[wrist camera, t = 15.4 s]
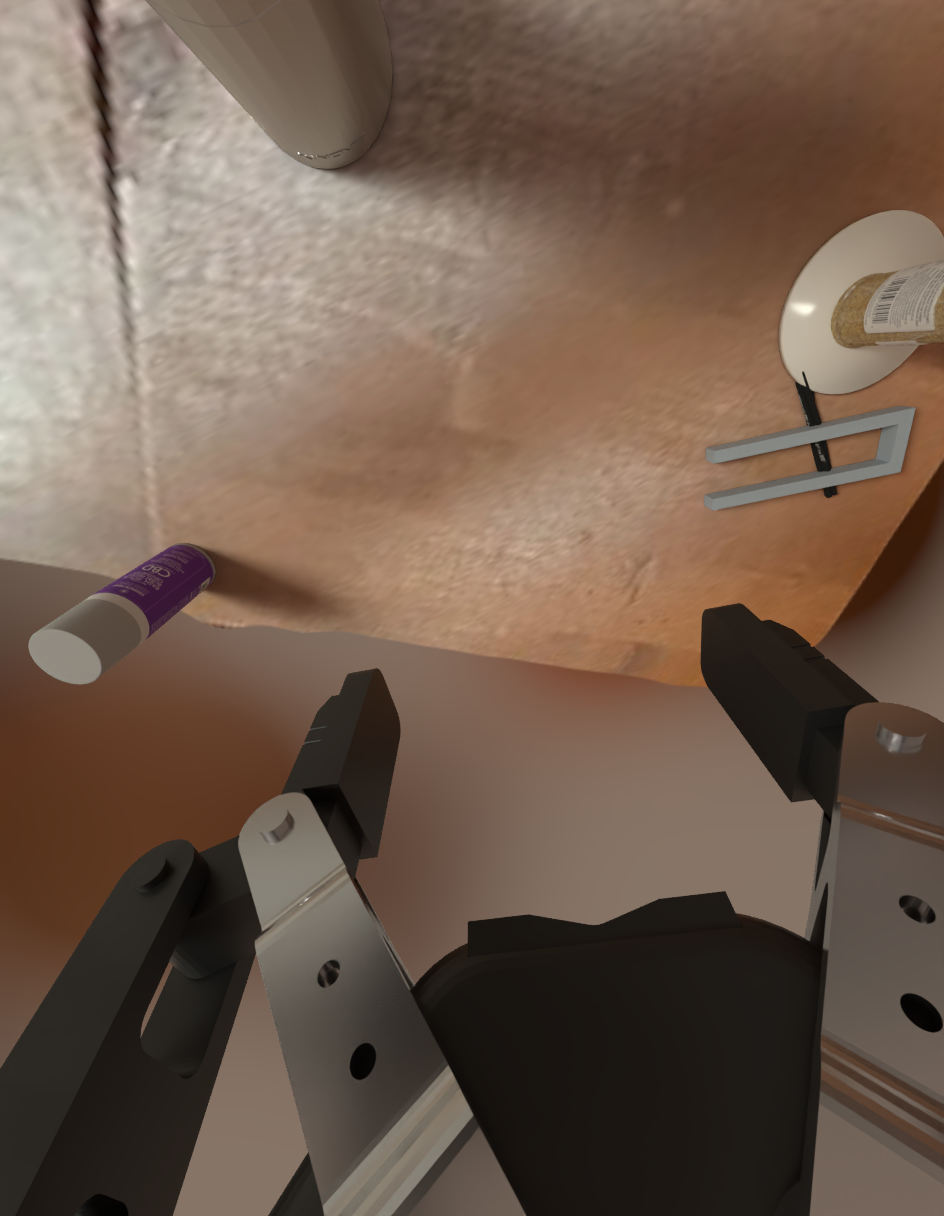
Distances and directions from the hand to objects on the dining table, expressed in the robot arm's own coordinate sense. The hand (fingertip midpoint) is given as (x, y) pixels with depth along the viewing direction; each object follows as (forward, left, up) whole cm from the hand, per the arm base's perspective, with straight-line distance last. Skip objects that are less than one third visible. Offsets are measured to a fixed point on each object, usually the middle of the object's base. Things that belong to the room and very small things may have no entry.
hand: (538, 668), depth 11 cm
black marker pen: (+4, +26, -31) cm, 41 cm away
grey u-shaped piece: (+6, +24, -30) cm, 39 cm away
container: (+4, -30, -30) cm, 43 cm away
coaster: (-4, +28, -30) cm, 41 cm away
